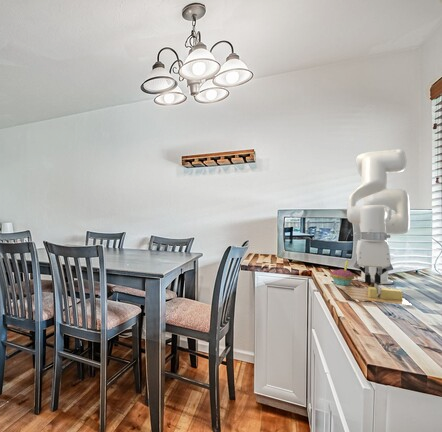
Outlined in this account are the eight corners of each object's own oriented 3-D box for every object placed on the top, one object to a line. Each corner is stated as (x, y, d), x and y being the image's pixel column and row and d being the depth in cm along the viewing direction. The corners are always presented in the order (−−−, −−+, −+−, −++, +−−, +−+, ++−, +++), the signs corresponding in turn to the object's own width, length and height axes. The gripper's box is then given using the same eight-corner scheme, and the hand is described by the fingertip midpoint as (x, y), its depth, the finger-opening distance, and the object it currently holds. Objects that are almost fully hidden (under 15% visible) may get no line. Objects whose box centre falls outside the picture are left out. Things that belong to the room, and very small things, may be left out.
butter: (378, 295, 117) (378, 287, 117) (399, 297, 114) (399, 289, 114) (380, 298, 113) (380, 289, 113) (402, 300, 110) (402, 291, 110)
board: (343, 288, 131) (343, 286, 131) (394, 293, 124) (394, 290, 124) (351, 301, 112) (352, 298, 112) (412, 307, 104) (412, 304, 104)
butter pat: (367, 294, 118) (367, 286, 118) (374, 295, 117) (374, 287, 117) (370, 297, 115) (369, 288, 115) (377, 297, 114) (377, 289, 114)
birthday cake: (350, 284, 139) (350, 257, 139) (357, 289, 131) (357, 260, 131) (327, 283, 142) (327, 256, 142) (333, 287, 134) (333, 259, 134)
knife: (366, 284, 128) (366, 278, 128) (372, 284, 128) (372, 278, 128) (377, 294, 111) (377, 287, 111) (384, 295, 110) (384, 287, 110)
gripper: (396, 237, 122) (396, 285, 122) (346, 236, 130) (346, 281, 129) (402, 238, 115) (402, 289, 115) (348, 237, 123) (348, 284, 123)
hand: (372, 284), depth 122 cm, fingers closed on knife, 1 cm apart
